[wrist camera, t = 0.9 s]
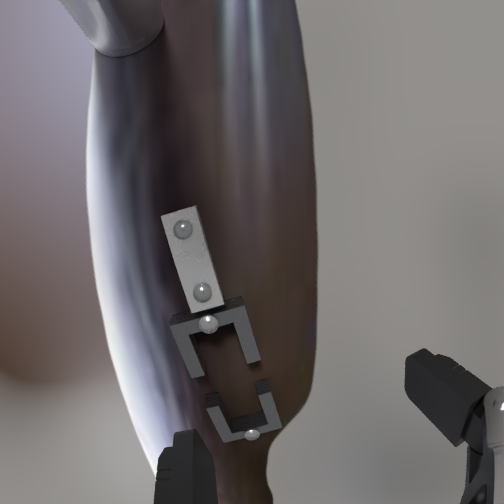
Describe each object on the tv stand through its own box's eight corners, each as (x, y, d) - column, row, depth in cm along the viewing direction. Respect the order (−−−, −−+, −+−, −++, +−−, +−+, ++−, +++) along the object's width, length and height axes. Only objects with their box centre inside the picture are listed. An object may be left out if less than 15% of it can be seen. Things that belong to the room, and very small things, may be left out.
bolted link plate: (166, 213, 30) (159, 216, 26) (197, 204, 31) (194, 205, 26) (193, 299, 33) (191, 315, 28) (222, 291, 33) (224, 306, 29)
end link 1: (171, 313, 32) (167, 326, 29) (240, 294, 33) (244, 305, 29) (192, 364, 34) (191, 381, 30) (256, 347, 35) (261, 362, 31)
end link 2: (278, 415, 37) (283, 431, 34) (222, 429, 36) (224, 446, 33) (266, 378, 36) (271, 394, 32) (205, 394, 35) (206, 411, 31)
